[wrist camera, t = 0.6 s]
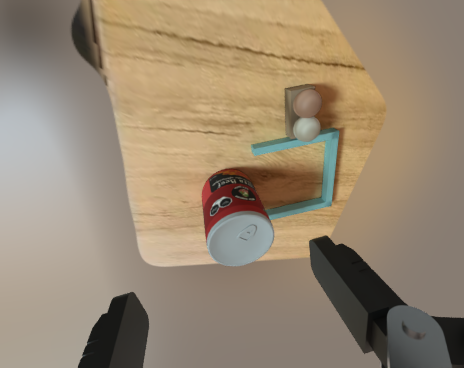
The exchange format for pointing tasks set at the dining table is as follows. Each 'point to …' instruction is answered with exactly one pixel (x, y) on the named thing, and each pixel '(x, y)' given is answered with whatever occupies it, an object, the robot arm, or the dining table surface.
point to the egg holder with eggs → (302, 112)
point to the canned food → (235, 219)
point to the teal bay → (328, 172)
